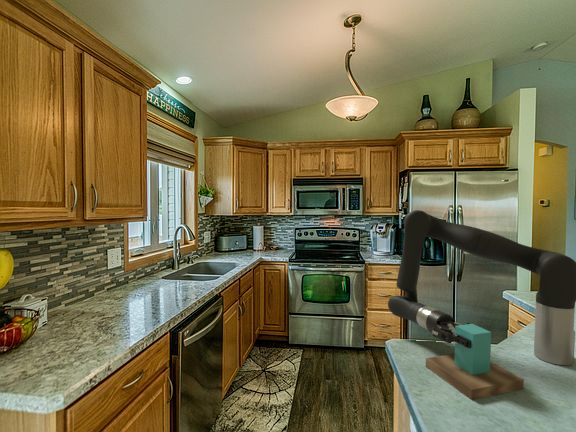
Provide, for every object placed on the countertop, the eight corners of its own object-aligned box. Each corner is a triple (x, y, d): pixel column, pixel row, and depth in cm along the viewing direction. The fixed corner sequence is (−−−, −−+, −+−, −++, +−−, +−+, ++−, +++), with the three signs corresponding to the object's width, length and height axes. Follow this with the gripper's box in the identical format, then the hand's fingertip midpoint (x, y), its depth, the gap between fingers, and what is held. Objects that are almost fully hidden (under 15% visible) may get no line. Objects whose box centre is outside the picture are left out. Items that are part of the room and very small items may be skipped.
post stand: (471, 359, 95) (472, 321, 95) (523, 388, 80) (525, 343, 80) (425, 366, 91) (426, 326, 90) (471, 399, 75) (472, 351, 75)
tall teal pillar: (471, 361, 89) (472, 323, 89) (489, 372, 83) (491, 332, 83) (454, 363, 87) (455, 325, 87) (472, 375, 82) (473, 334, 81)
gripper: (416, 311, 97) (459, 332, 81) (453, 307, 101) (501, 327, 84) (415, 335, 97) (458, 360, 81) (452, 330, 101) (500, 353, 85)
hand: (480, 343), depth 83 cm, fingers closed on tall teal pillar, 6 cm apart
